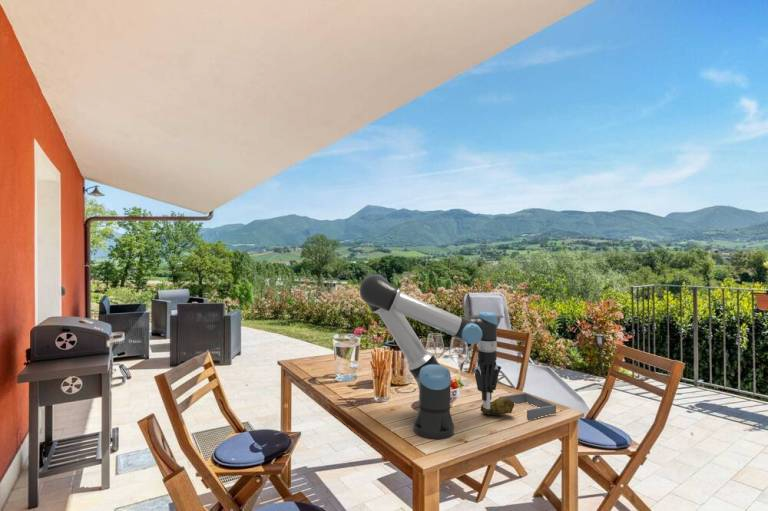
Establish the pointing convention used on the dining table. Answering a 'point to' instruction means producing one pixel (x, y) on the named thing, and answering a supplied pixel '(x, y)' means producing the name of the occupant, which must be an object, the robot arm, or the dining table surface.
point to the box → (544, 406)
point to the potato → (499, 406)
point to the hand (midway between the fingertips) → (486, 407)
